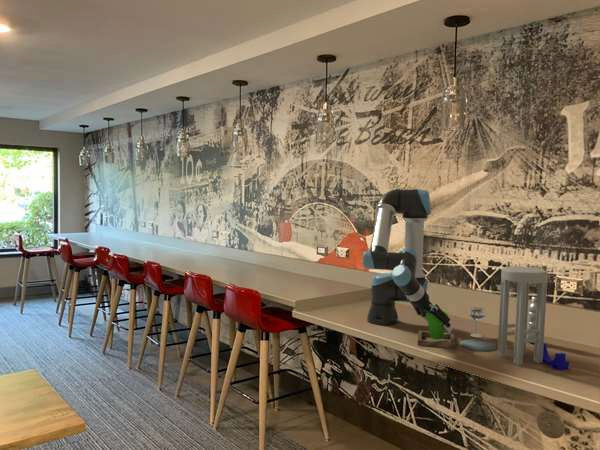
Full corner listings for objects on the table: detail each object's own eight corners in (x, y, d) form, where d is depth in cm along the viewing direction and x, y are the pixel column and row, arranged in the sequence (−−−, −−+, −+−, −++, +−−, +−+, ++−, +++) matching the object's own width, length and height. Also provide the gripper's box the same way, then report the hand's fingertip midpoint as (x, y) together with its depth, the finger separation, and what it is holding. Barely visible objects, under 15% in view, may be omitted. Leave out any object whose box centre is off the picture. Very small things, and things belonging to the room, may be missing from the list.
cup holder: (417, 344, 203) (417, 340, 203) (418, 334, 218) (418, 330, 218) (455, 348, 199) (455, 343, 199) (453, 338, 214) (454, 333, 214)
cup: (448, 341, 203) (449, 316, 202) (425, 340, 205) (426, 314, 204) (446, 335, 212) (447, 310, 211) (424, 333, 214) (425, 309, 213)
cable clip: (568, 370, 178) (569, 354, 178) (557, 370, 177) (558, 354, 177) (546, 358, 190) (547, 343, 190) (536, 359, 189) (537, 344, 189)
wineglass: (484, 334, 220) (486, 308, 219) (483, 338, 214) (484, 311, 213) (468, 332, 223) (470, 306, 222) (467, 336, 217) (468, 309, 216)
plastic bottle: (541, 341, 212) (543, 295, 210) (543, 345, 205) (546, 299, 204) (524, 339, 214) (527, 294, 212) (526, 344, 207) (529, 297, 206)
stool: (489, 353, 194) (493, 266, 192) (522, 350, 198) (526, 265, 196) (516, 367, 179) (521, 273, 177) (551, 364, 184) (556, 271, 181)
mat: (453, 341, 208) (453, 340, 208) (481, 339, 213) (481, 338, 213) (474, 352, 195) (474, 351, 195) (503, 349, 199) (503, 348, 199)
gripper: (393, 296, 208) (418, 328, 218) (432, 308, 190) (457, 341, 200) (402, 283, 210) (427, 314, 220) (442, 293, 192) (467, 327, 202)
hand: (441, 327), depth 210 cm, fingers closed on cup, 9 cm apart
